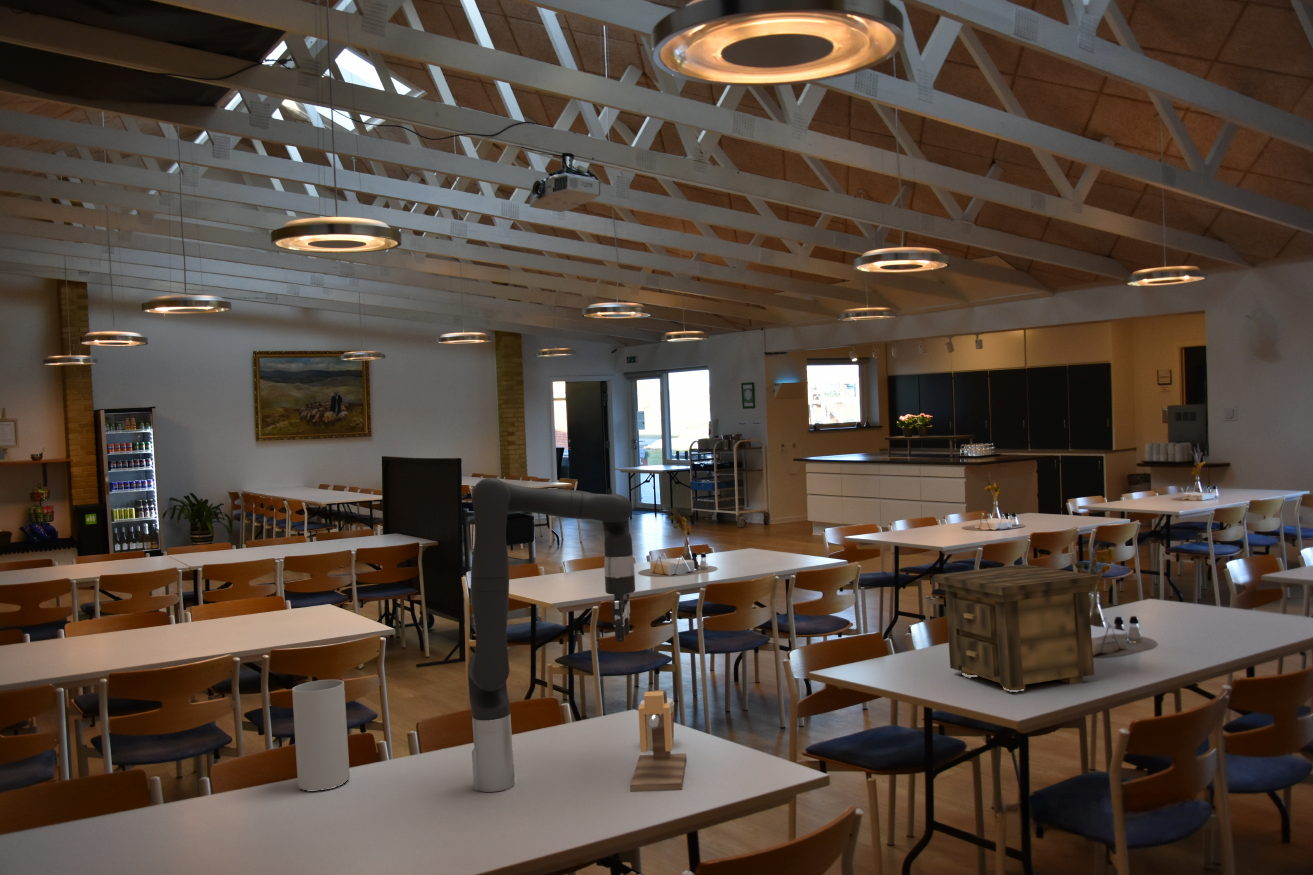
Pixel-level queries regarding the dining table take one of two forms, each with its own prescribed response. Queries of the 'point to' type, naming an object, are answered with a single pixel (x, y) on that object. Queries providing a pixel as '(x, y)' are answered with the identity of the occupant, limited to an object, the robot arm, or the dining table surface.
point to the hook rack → (659, 761)
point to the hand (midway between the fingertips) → (622, 638)
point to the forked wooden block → (654, 706)
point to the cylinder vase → (320, 734)
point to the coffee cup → (649, 730)
